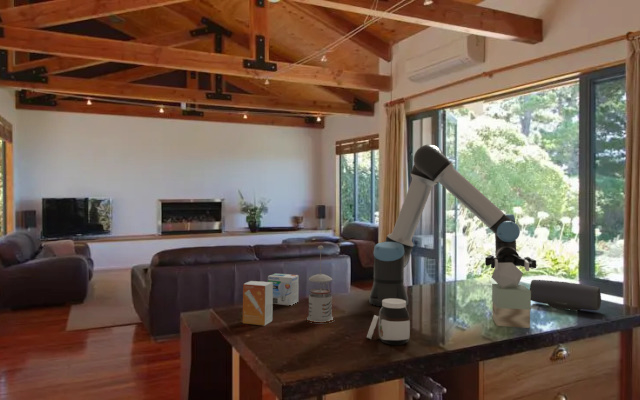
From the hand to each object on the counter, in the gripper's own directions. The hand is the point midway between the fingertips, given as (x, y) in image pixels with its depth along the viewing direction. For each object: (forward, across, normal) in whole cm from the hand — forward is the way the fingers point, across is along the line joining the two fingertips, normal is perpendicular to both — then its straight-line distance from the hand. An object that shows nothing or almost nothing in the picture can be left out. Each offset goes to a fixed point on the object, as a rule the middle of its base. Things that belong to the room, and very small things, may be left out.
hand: (512, 266), depth 148 cm
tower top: (-5, 0, -14) cm, 15 cm away
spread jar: (+29, +35, -20) cm, 49 cm away
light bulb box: (-4, +82, -20) cm, 85 cm away
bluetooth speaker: (-34, -21, -20) cm, 44 cm away
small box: (+24, +79, -20) cm, 85 cm away
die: (-4, +1, -8) cm, 9 cm away
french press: (+13, +61, -20) cm, 65 cm away
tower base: (-5, 0, -20) cm, 20 cm away
